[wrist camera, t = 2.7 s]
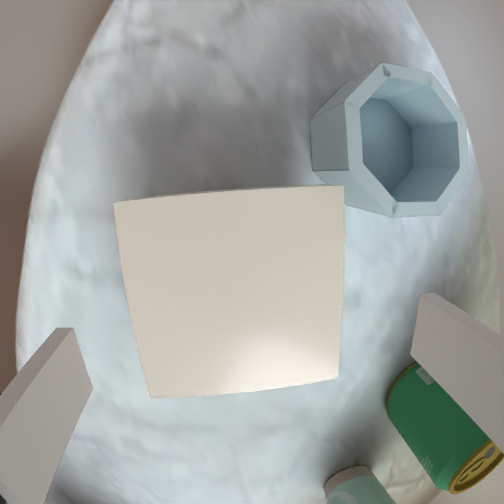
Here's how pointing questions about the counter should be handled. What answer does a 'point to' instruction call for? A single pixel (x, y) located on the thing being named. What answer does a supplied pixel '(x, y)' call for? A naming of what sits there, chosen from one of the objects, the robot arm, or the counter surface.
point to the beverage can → (440, 432)
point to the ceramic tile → (234, 287)
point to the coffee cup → (356, 488)
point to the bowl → (392, 143)
